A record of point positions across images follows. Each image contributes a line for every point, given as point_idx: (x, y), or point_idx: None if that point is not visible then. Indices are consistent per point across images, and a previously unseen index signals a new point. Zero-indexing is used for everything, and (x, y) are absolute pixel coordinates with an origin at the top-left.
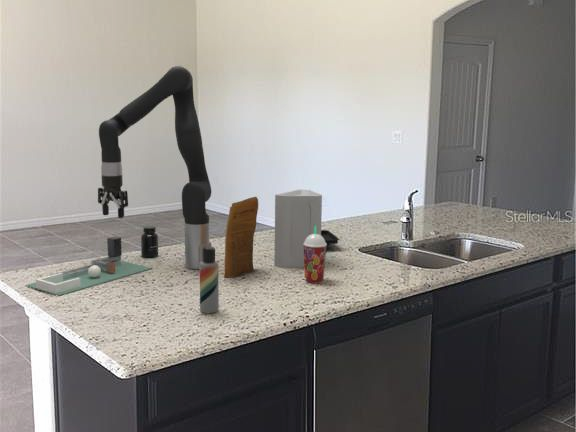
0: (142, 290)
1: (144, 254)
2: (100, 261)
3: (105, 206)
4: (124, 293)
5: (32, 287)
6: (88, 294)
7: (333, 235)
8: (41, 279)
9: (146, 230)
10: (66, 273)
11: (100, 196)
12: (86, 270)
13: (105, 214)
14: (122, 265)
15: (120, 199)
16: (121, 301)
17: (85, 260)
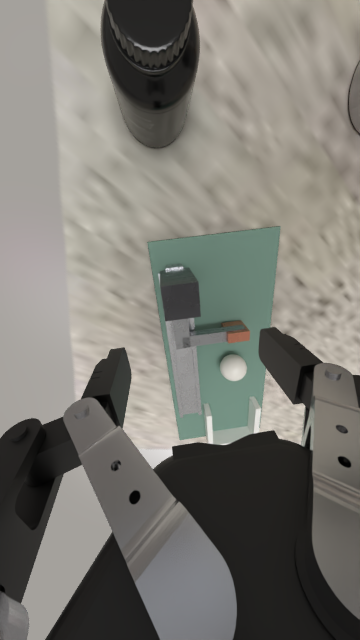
0: (355, 337)
1: (163, 143)
2: (199, 339)
3: (120, 413)
4: (336, 364)
5: (197, 436)
6: (288, 399)
7: None
8: (212, 442)
9: (165, 60)
10: (182, 392)
11: (33, 549)
12: (197, 363)
13: (129, 370)
14: (198, 269)
15: (334, 436)
16: None
17: (75, 303)
